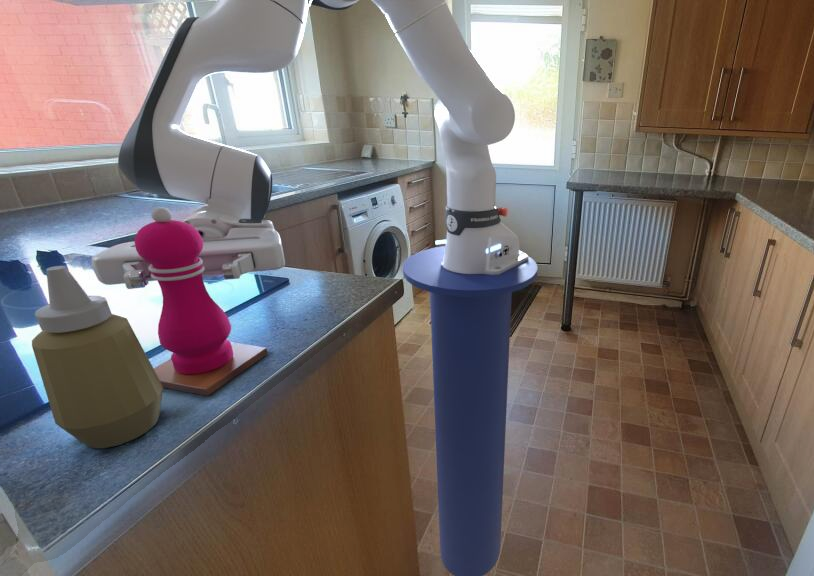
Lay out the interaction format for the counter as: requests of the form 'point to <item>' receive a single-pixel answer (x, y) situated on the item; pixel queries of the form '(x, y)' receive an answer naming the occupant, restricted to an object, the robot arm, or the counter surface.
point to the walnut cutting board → (212, 379)
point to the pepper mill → (184, 296)
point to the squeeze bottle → (93, 367)
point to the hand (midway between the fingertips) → (183, 277)
